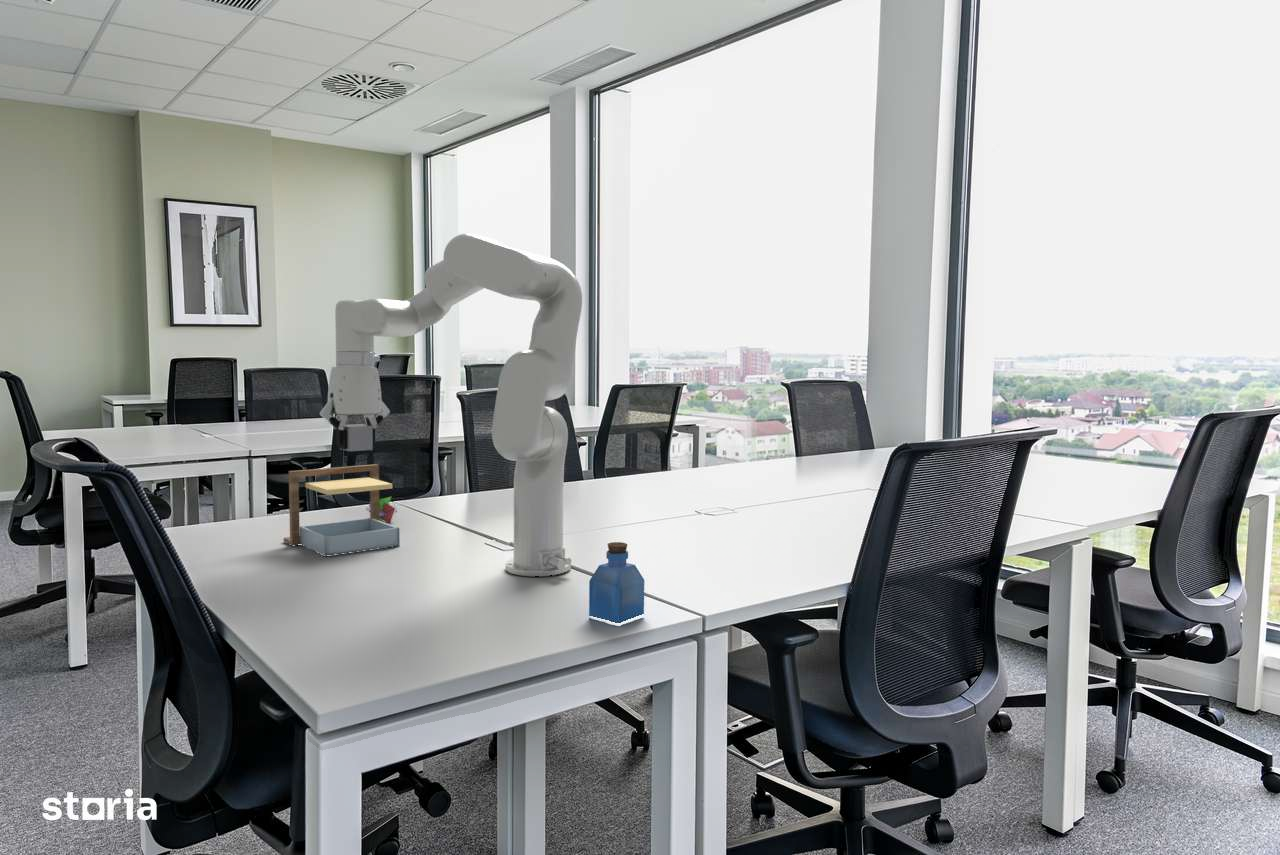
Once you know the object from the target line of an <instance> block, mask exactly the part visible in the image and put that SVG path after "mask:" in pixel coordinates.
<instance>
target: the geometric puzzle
mask: <svg viewBox="0 0 1280 855" xmlns="http://www.w3.org/2000/svg"><path fill="white" fill-rule="evenodd" d="M391 500H392V502H394V501H393V500H394V499H393V496H392V495H391V496H386V497H382V498H379V518H380V521H382V522H384V521H385V523H387V522H388V523H387V524H389V523H390V524H391V522H392V521H393V520H394V519H393V516H396V514H397V513H398V510H397V508H396V505H395V503H393V506H392V505H390V502H391ZM365 509H366V511H368V513H370V502H369V503H368V506H367V507H366V508H365ZM383 520H384V521H383Z"/></svg>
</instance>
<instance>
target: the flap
mask: <svg viewBox="0 0 1280 855" xmlns="http://www.w3.org/2000/svg"><path fill="white" fill-rule="evenodd" d="M369 477H370V476H367V477H365V476H364V477H355V478H354V477H353V478H345V479H334V480H321V481H312V482H304V483H305V488H306V489H309V490H311V491H315V492H318V493H321V494H324V495H327V496H331V495H340V494H341V495H342V494H349V493H352V494H353V493H361V492H363V493H364V492H370V491H373V490H379V491H380V490H389V489H390V490H391V489H392V490H393V483H390V482H387V481H384V480H380V479H379V480H377V479H373V478H369Z"/></svg>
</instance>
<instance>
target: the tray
mask: <svg viewBox="0 0 1280 855" xmlns="http://www.w3.org/2000/svg"><path fill="white" fill-rule="evenodd" d="M299 527H300V544H302V545H304V546H306V547H308V548H310V549H312V550H314V551H317V552H319V553H321V554H323V555H325V556H327V555H334V554H342V553H349V552H357V551H363V550H370V549H377V548H385V547H391V548H393V547H392V546H398V547H400V545H401V544H400V527H398V526H395V525H392V524H391V523H390V524H389V523H387V522H384V521H382V522H381V521H378V520H376V519H373V518H370V517H369V518H368V517H367V518H360V519H351V520H343V521H335V522H334V521H333V522H328V523H327V522H326V523H319V524H310V525H300V526H299ZM385 549H386V548H385ZM312 550H311V551H312ZM314 551H313V552H314Z"/></svg>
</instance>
